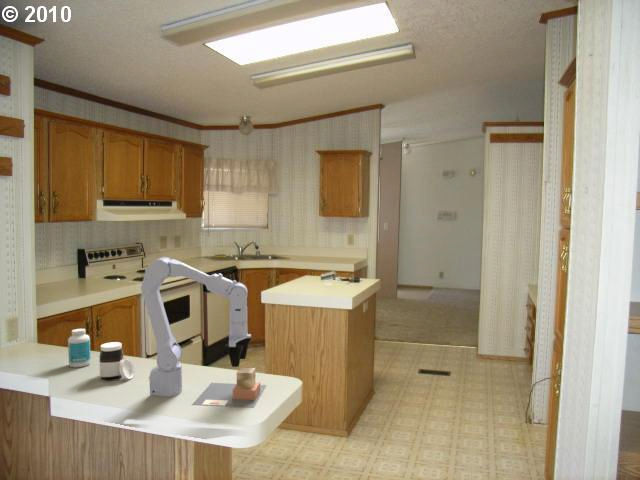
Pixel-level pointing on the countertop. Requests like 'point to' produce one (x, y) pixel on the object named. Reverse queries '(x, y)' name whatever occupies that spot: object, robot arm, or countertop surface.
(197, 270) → the robot arm
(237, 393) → the terracotta slab
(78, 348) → the pill bottle
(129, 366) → the spread jar
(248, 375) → the oak cube
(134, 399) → the countertop surface
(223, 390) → the grey square mat
